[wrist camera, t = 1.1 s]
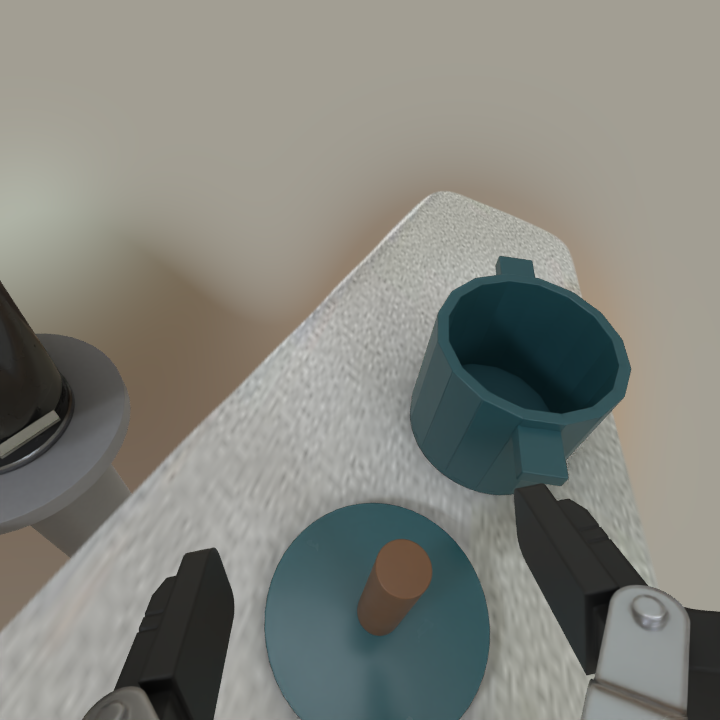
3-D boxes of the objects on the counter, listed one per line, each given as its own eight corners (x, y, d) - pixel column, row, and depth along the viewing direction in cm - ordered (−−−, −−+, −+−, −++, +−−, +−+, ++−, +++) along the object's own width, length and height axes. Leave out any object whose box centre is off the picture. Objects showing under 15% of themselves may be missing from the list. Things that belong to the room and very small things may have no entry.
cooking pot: (404, 522, 31) (436, 452, 24) (414, 328, 42) (438, 238, 34) (580, 546, 32) (666, 485, 24) (546, 347, 42) (599, 261, 34)
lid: (240, 737, 24) (212, 733, 17) (289, 496, 32) (286, 419, 24) (490, 771, 24) (576, 783, 17) (479, 523, 32) (534, 454, 24)
